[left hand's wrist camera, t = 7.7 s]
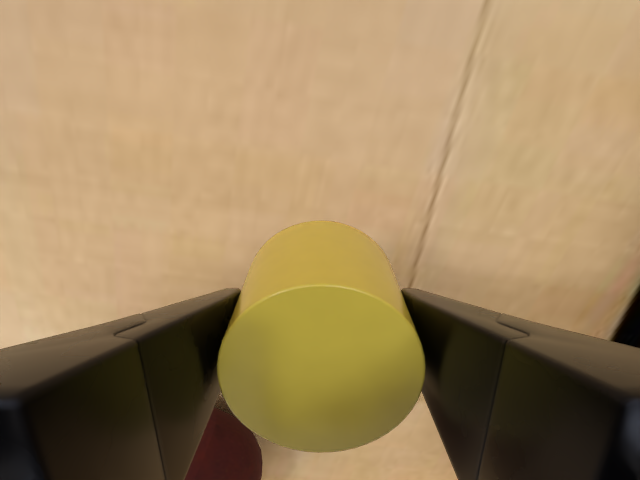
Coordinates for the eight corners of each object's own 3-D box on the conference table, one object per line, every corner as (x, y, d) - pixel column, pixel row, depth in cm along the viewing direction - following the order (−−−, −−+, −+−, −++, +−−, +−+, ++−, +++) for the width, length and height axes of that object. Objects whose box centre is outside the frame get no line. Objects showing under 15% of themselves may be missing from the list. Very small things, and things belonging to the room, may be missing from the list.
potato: (189, 479, 28) (149, 599, 21) (135, 398, 25) (70, 507, 19) (285, 453, 27) (274, 570, 20) (239, 367, 24) (210, 470, 18)
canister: (222, 310, 13) (181, 404, 9) (294, 191, 11) (281, 243, 8) (342, 370, 14) (351, 479, 10) (423, 267, 12) (469, 348, 8)
